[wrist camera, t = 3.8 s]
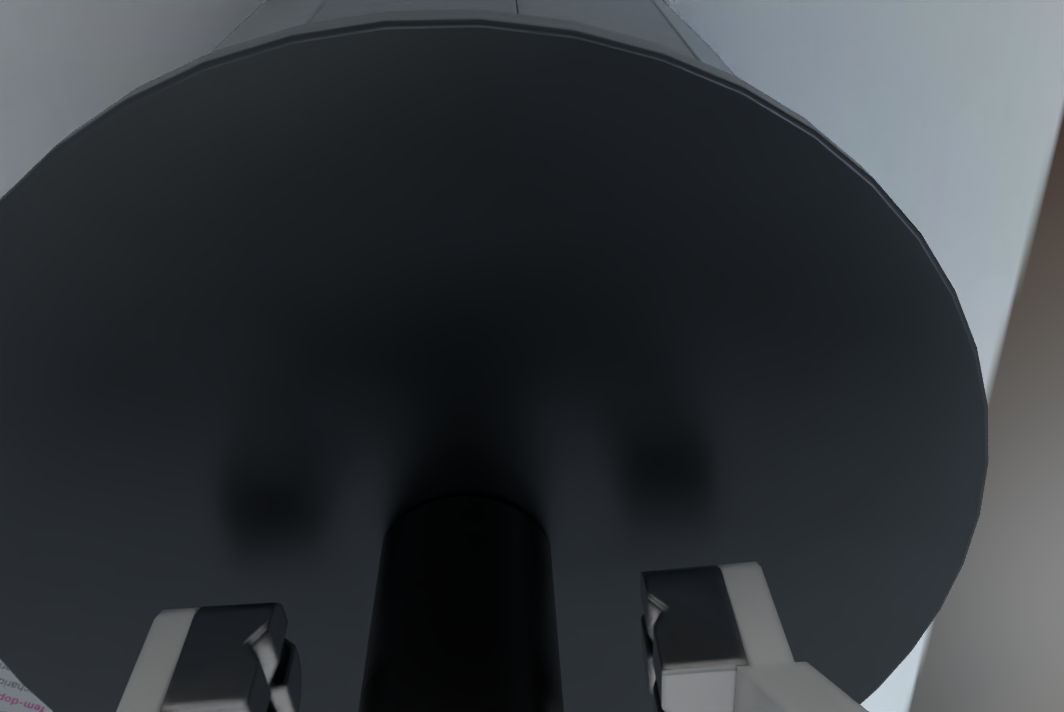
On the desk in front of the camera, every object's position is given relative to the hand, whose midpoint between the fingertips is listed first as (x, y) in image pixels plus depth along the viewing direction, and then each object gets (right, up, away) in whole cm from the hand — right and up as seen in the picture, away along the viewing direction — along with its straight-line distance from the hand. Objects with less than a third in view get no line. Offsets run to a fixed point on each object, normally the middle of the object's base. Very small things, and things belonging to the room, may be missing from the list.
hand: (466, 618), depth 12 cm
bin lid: (0, +1, +1) cm, 2 cm away
